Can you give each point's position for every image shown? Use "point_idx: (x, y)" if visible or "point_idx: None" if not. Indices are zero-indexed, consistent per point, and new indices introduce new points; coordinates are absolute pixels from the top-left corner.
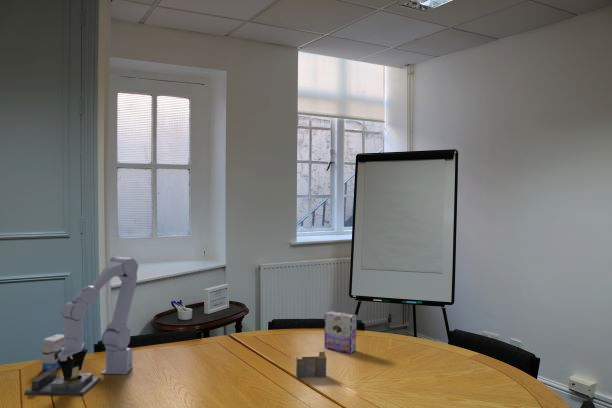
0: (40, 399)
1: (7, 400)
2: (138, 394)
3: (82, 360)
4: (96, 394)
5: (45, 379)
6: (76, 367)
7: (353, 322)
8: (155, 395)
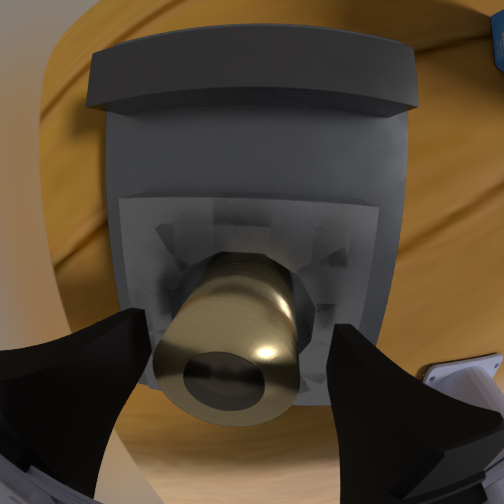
0: (64, 187)
1: (63, 38)
2: (194, 485)
3: (339, 450)
4: (164, 413)
5: (200, 95)
6: (213, 417)
7: None
8: (196, 501)
